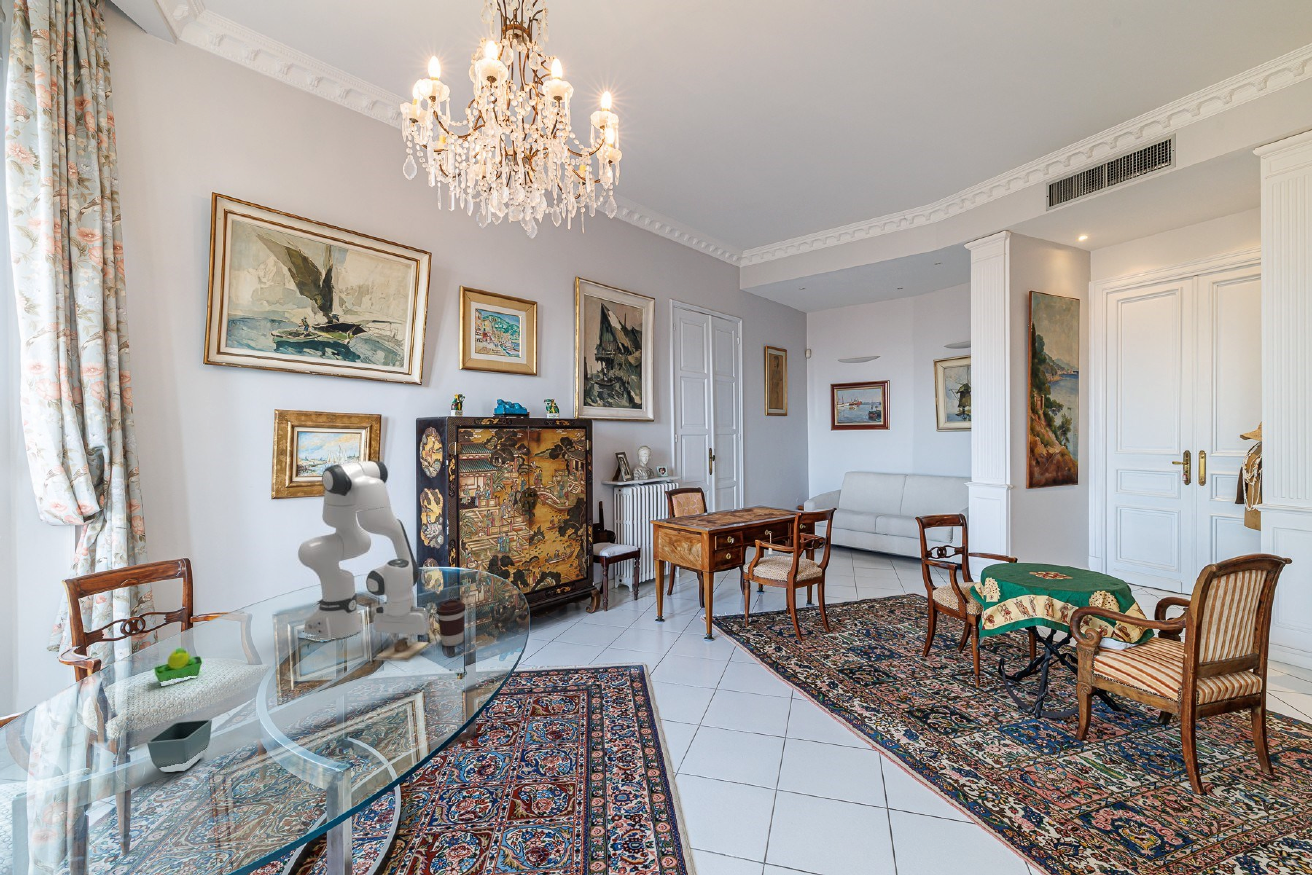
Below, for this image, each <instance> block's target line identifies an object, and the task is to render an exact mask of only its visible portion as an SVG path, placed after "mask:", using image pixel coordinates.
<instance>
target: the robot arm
mask: <svg viewBox="0 0 1312 875" xmlns="http://www.w3.org/2000/svg"><path fill="white" fill-rule="evenodd" d="M388 478H389V472H388V468H387V466H386V464H384V463H383V461H379V460H373V459H372V460H368V461H367V460H362V461H361V460H359V461H357V460H356V461H352V462H346V463H342V464H341V463H340V464H333V465H330V466H328V467H326V468H325V469H324V471H323V473H322V476H321V483H322V486H323V488H324V495H323V497H324V498H323V506H322V516H321V518H322V521H323V522H324V524H325V525H326V526H329V527H331V528H334V529H335V532H334V533H332V534H331V533H330V534H326V535H320V536H316V537H313V538H311V539H308V540H305V541H303V542H302V543H301V544H300V546H299V548H298V551H297V556H298V557H297V558H298V560H299V561H300V563H301V564H302V565H303V566H305V567H307V568H309V569H310V570H312V571H314V573H316V575H317V577H318V579H319V582H320V587H321V596H322V598H321V599H320V600H317V601H316V605H319V606H318V609H317V610H315V611H314V612H313V613H312V614H311V615H310V616H309V617H307V619H306V620H305V622H304V629H303V630H304V632H305V633H307V634H311V635H319V637H317V636H315V637H313V636H311V637H310V636H309V637H308V636H306V638H313V639H317V640H328V639H331V638H341V639H344V638H343V637H345V638H348V637H350V636H349V635H351V636H354V635H356V634H357V632H358V633H359V632H361V631H362V629H363V627H362V623H361V621H360V617H359V613H358V612H359V611H358V607H357V605H358V596H357V593H356V585H355V582H356V581H355V576H354V574H353V573H352V571H349V570H346V569H343V568H342V569H341V567H340V565H339V563H340V562H343V561H347V560H351V559H356V558H358V557H360V556H362V555H364V554H366V553H368V552H369V551H370V548H371V546H372V539H371V538H372V537H371V536H370V534H372V535H373V534H374V535H380V536H385V537H387V538H389V540H390V541H391V543H392V545H393V546H392V547H393V549H394V551H395V554H396V558H395V559H391V560H389V561H387V562H386V564H384V565H382V566H380V567H377V568H374V569H372V570H370V572H369V573H368V574H367V575H366V576H367V577H366V580H365V583H366V589H367V591H368V592H369V593H370V594H372V595H374V596H377V597H378V596H386V601H384V602H382V603H380V604H379V605H376V606H375V607H374V608H373V613H374V615H373V619H372V620H373V622H372V623H373V630H374V632H375V633H383V634H384V633H385V634H390V638H391V639H392V640H393V644H394V643H395V642H397V641H399V640H400V639H401V638H399V636H398V635H399V634H400V635H406V637H407V638H408V640H406V641H405V646H410V645H411V644H412V642H413V638H414V636H415V635H417V636H418V635H420V636H424V635H425V634H427V633H428V632H430V630H431V624H430V618H429V612H428V610H427V609H426V608H424V607H423V606H415V605H416V604H415V593H414V590H413V589H414V588H413V587H414V586H416V584H417V583H418V581H419V580H420V577H421V571H420V567H419V565H418V562H417V561H416V559H415V556H414V554H413V550H412V547H411V543H410V541H409V538H408V535H407V532H406V529H405V527H404V523H403V522H402V521H401V520H400V519H398V518H397V517H396V515H394V512H393V511H392V506H391V501H390V497H389V493H388V490H387V487H386V482H387V480H388ZM369 533H370V534H369ZM360 623H361V624H360ZM320 636H321V637H320ZM347 636H348V637H347ZM320 638H324V639H320Z"/></svg>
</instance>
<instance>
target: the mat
mask: <svg viewBox="0 0 1312 875" xmlns="http://www.w3.org/2000/svg"><path fill="white" fill-rule="evenodd" d="M433 645H434V644H433V643H429V646H427V647H426V648H424V649H423V650H421V651H420V652H419V653H417V654H416V655H414V656H413V657H411V658H410V659H409V660H395V659H380V658H376V656H374V658H372V659H371V660H372V661H373V660H375V661H376V660H377V661H387V662H388V661H389V662H404V663H405V662H406V663H409V662H411V660H413V659H414V658H416V657H417V656H419V655H420V654H422V653H423V652H424V651H426V650H428V648H430V647H431V646H433Z"/></svg>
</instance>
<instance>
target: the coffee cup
mask: <svg viewBox="0 0 1312 875" xmlns="http://www.w3.org/2000/svg"><path fill="white" fill-rule="evenodd" d="M466 609H467V608H466V604H465V603H464V602H462V601H461V600H459V599H450V600H446V601H443V602H441V603H440V605H439V606H437V607H436V609H435V610H436V615H438V628H439V634H440V638H441V644H442V646H445V647H453V646H456V645H460V644H461V643H463V642H464V632H465V611H466Z"/></svg>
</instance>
